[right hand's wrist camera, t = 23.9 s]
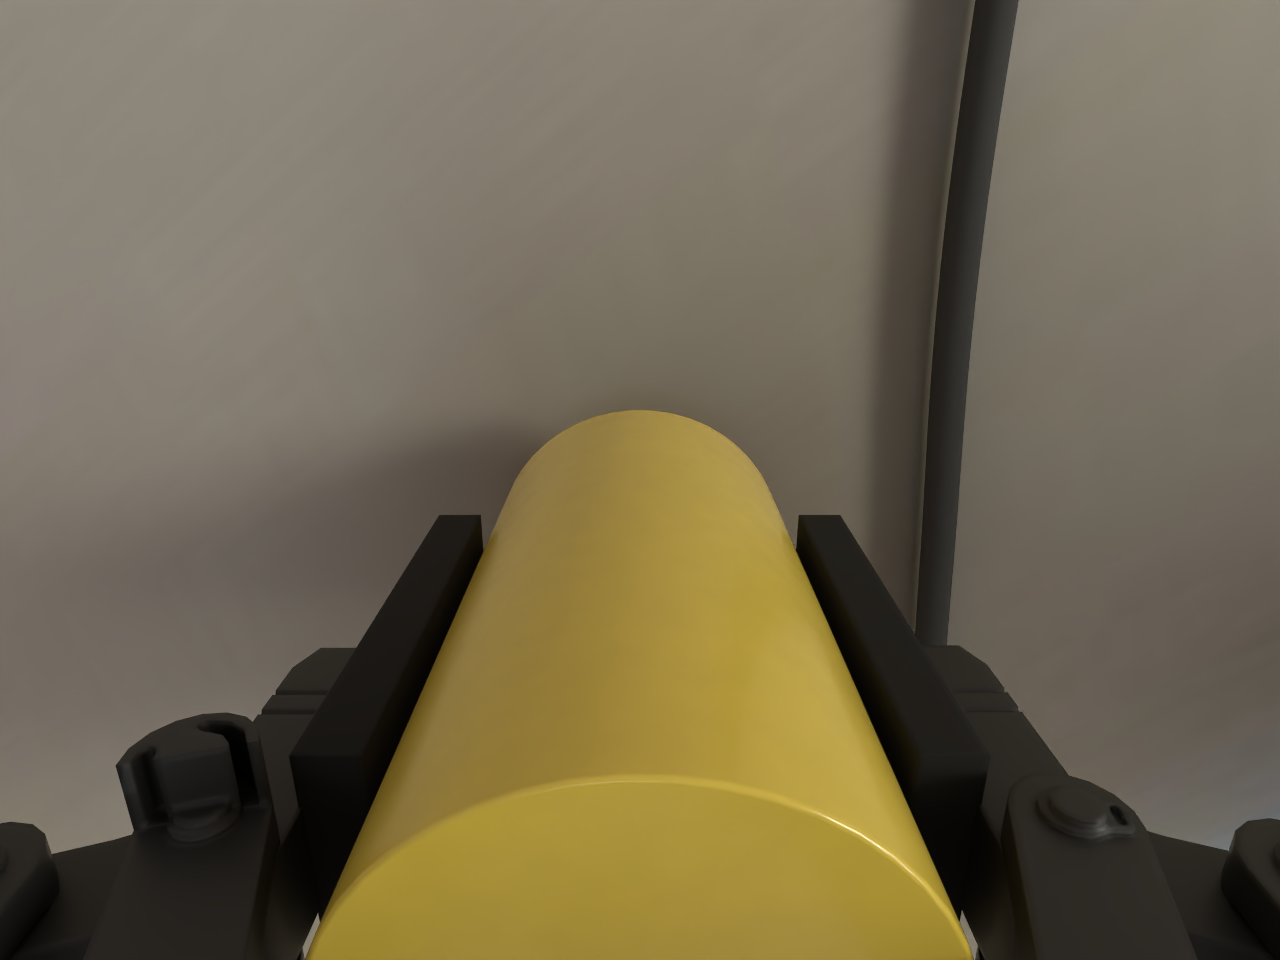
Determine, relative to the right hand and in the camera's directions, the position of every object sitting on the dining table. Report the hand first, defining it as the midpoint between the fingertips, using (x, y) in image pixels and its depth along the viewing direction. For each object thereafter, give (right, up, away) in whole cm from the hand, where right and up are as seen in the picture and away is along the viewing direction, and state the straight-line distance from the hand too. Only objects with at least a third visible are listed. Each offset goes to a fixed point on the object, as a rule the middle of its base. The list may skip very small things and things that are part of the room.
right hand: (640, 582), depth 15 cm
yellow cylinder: (0, +1, +2) cm, 2 cm away
